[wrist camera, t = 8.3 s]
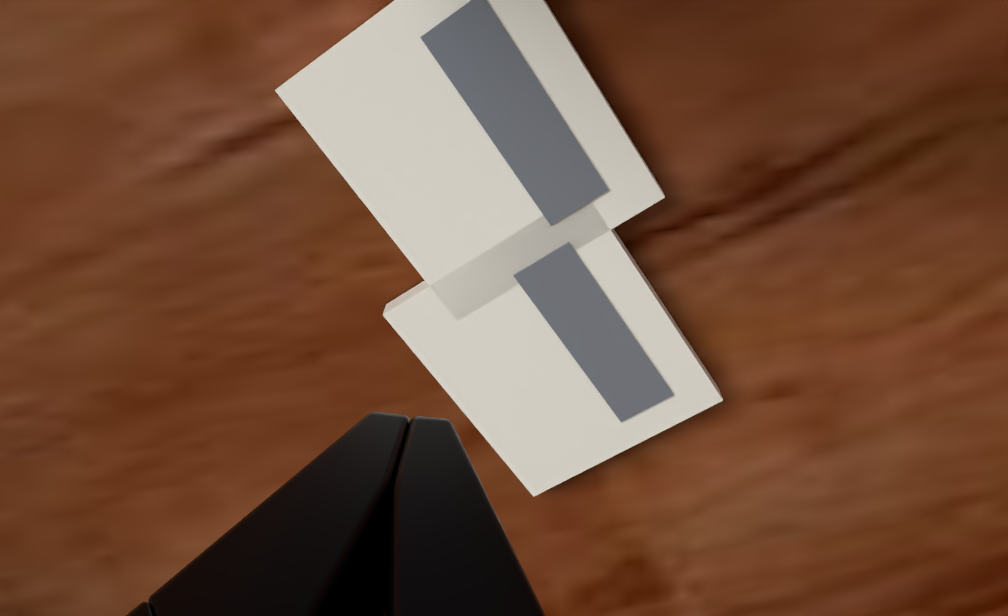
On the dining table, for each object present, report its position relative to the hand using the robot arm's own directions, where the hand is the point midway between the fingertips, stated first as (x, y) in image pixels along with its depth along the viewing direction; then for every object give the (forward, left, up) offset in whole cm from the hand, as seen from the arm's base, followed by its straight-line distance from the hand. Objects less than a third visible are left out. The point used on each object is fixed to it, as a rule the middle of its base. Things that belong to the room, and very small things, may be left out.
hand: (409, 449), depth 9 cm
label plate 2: (-5, -3, -12) cm, 13 cm away
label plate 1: (0, 0, -12) cm, 12 cm away
